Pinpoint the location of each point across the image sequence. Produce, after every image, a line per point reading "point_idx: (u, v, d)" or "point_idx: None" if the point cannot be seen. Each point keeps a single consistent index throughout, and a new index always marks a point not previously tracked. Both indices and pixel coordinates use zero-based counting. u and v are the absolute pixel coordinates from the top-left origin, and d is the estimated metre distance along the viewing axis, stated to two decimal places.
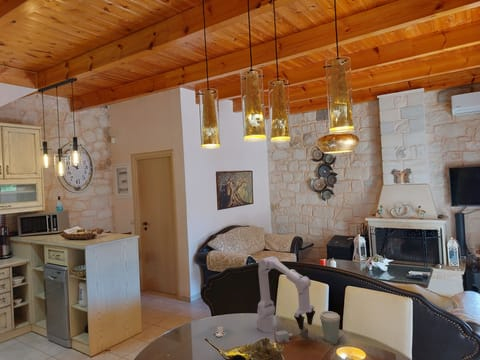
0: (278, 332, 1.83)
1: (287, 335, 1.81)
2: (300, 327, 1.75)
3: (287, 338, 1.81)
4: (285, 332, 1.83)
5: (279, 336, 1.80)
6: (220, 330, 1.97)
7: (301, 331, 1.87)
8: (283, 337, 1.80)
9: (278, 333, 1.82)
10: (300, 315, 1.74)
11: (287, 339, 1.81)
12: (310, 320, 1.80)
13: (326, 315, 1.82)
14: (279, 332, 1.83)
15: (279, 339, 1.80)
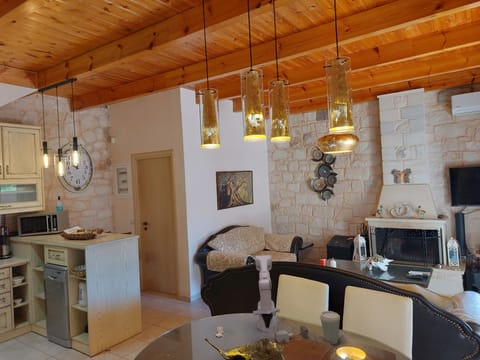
0: (278, 332, 1.83)
1: (287, 335, 1.81)
2: (265, 325, 1.81)
3: (287, 338, 1.81)
4: (285, 332, 1.83)
5: (279, 336, 1.80)
6: (220, 330, 1.97)
7: (301, 331, 1.87)
8: (283, 337, 1.80)
9: (278, 333, 1.82)
10: (264, 314, 1.80)
11: (287, 339, 1.81)
12: None
13: (326, 315, 1.82)
14: (279, 332, 1.83)
15: (279, 339, 1.80)
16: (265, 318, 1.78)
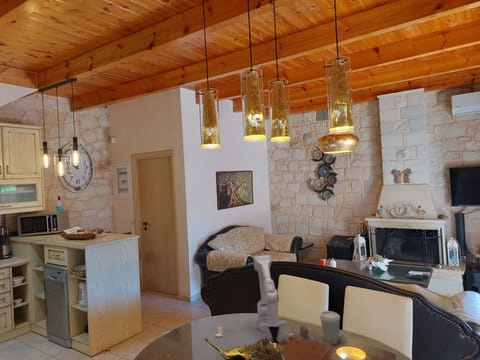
0: (278, 332, 1.83)
1: (287, 335, 1.81)
2: (272, 338, 1.81)
3: (287, 338, 1.81)
4: (285, 332, 1.83)
5: (279, 336, 1.80)
6: (220, 330, 1.97)
7: (301, 331, 1.87)
8: (283, 337, 1.80)
9: (278, 333, 1.82)
10: (271, 326, 1.81)
11: (287, 339, 1.81)
12: None
13: (326, 315, 1.82)
14: (279, 332, 1.83)
15: (279, 339, 1.80)
16: (272, 331, 1.79)
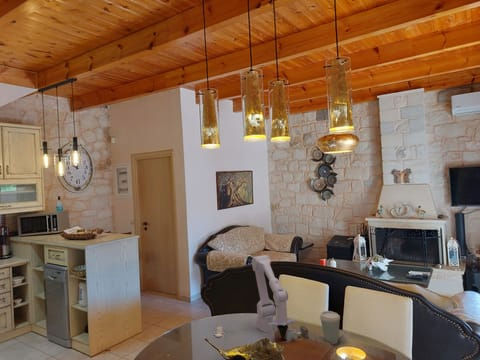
0: (287, 331, 1.84)
1: (296, 334, 1.82)
2: (281, 337, 1.82)
3: (296, 336, 1.82)
4: (294, 330, 1.84)
5: (288, 335, 1.81)
6: (220, 330, 1.97)
7: (301, 331, 1.87)
8: (292, 336, 1.82)
9: (287, 332, 1.83)
10: (280, 325, 1.82)
11: (296, 338, 1.82)
12: (283, 334, 1.82)
13: (326, 315, 1.82)
14: (287, 330, 1.85)
15: (288, 338, 1.81)
16: (281, 329, 1.80)
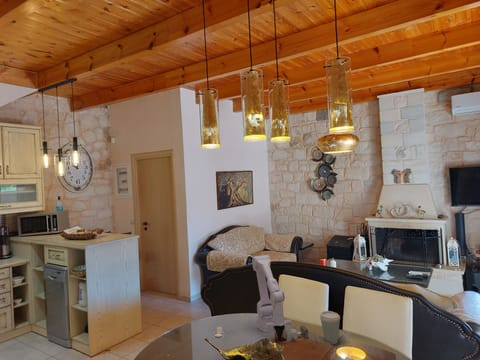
0: (287, 331, 1.84)
1: (296, 334, 1.82)
2: (278, 337, 1.82)
3: (296, 336, 1.82)
4: (294, 330, 1.84)
5: (288, 335, 1.81)
6: (219, 330, 1.97)
7: (301, 331, 1.87)
8: (292, 336, 1.82)
9: (287, 332, 1.83)
10: (277, 326, 1.81)
11: (296, 338, 1.82)
12: None
13: (326, 315, 1.82)
14: (287, 330, 1.85)
15: (288, 338, 1.81)
16: (278, 330, 1.80)
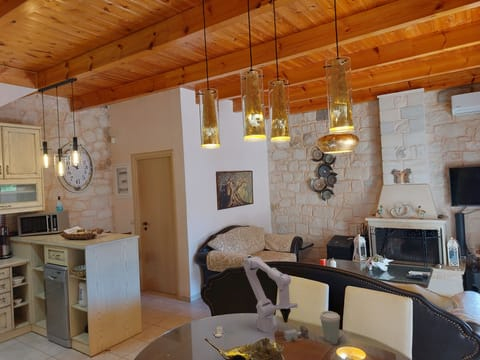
0: (287, 331, 1.84)
1: (296, 334, 1.82)
2: (284, 320, 1.87)
3: (296, 336, 1.82)
4: (294, 330, 1.84)
5: (288, 335, 1.81)
6: (219, 330, 1.97)
7: (301, 331, 1.87)
8: (292, 336, 1.82)
9: (287, 332, 1.83)
10: (283, 309, 1.86)
11: (296, 338, 1.82)
12: None
13: (326, 315, 1.82)
14: (287, 330, 1.85)
15: (288, 338, 1.81)
16: (284, 313, 1.85)
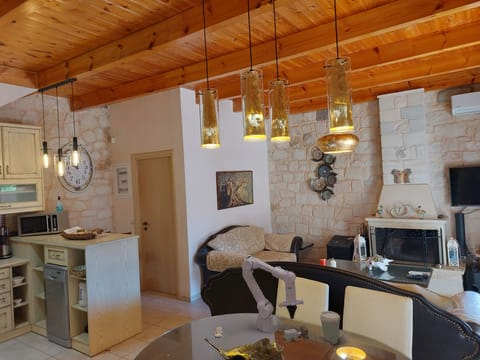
0: (287, 331, 1.84)
1: (296, 334, 1.82)
2: (290, 316, 1.92)
3: (296, 336, 1.82)
4: (294, 330, 1.84)
5: (288, 335, 1.81)
6: (219, 330, 1.97)
7: (301, 331, 1.87)
8: (292, 336, 1.82)
9: (287, 332, 1.83)
10: (289, 305, 1.91)
11: (296, 338, 1.82)
12: None
13: (326, 315, 1.82)
14: (287, 330, 1.85)
15: (288, 338, 1.81)
16: (290, 309, 1.89)
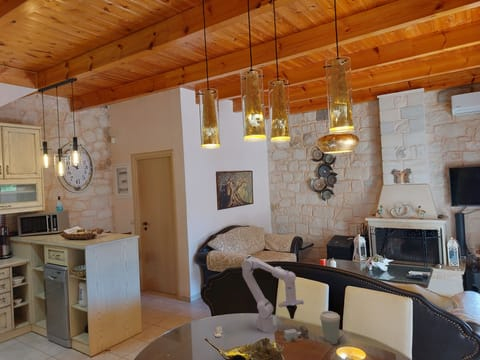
0: (287, 331, 1.84)
1: (296, 334, 1.82)
2: (290, 316, 1.92)
3: (296, 336, 1.82)
4: (294, 330, 1.84)
5: (288, 335, 1.81)
6: (219, 330, 1.97)
7: (301, 331, 1.87)
8: (292, 336, 1.82)
9: (287, 332, 1.83)
10: (289, 305, 1.91)
11: (296, 338, 1.82)
12: None
13: (326, 315, 1.82)
14: (287, 330, 1.85)
15: (288, 338, 1.81)
16: (290, 309, 1.89)
